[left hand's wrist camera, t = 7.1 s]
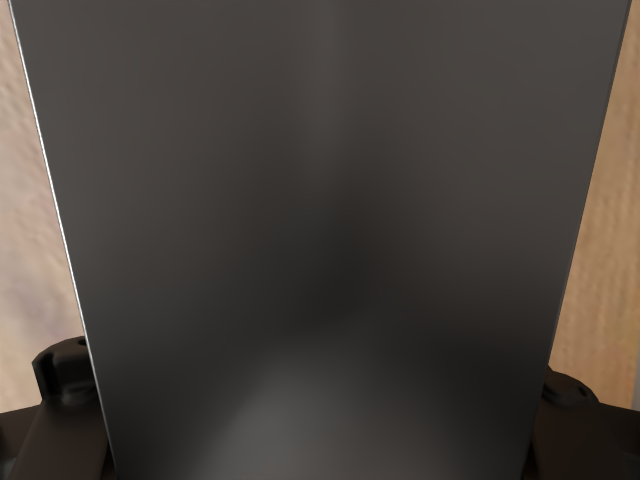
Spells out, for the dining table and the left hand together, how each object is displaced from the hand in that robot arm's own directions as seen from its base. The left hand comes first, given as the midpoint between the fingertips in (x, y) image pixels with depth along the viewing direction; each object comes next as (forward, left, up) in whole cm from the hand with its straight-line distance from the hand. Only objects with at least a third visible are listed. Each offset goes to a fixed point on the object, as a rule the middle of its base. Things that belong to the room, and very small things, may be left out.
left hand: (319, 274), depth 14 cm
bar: (+7, 0, -1) cm, 7 cm away
